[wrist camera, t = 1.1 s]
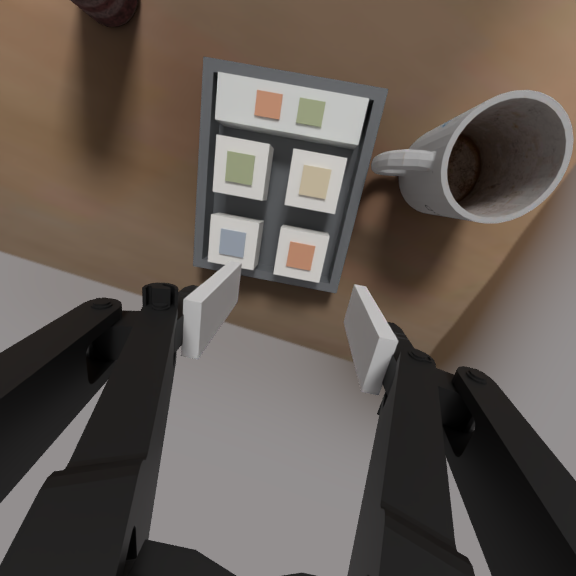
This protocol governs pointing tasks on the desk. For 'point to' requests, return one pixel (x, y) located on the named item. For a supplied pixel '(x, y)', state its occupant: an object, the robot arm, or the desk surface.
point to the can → (108, 10)
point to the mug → (486, 159)
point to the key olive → (242, 167)
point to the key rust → (301, 253)
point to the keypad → (285, 154)
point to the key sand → (315, 181)
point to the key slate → (235, 240)
